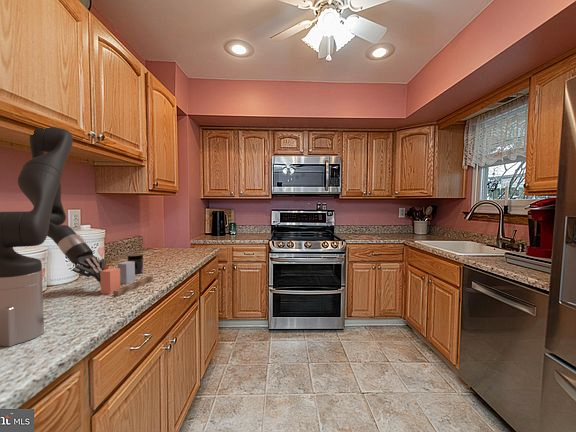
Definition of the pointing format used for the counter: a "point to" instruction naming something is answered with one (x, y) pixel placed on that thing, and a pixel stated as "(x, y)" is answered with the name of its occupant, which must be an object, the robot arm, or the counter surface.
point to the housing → (132, 286)
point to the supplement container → (136, 262)
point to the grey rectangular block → (127, 272)
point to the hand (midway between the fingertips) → (104, 281)
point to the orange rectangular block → (110, 280)
